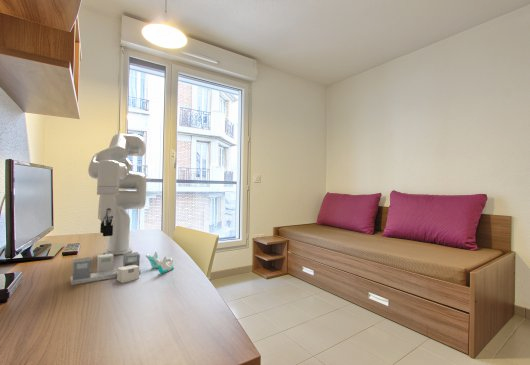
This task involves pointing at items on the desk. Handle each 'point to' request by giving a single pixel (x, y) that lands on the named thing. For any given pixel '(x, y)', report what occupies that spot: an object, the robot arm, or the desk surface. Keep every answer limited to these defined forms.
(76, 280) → the rail
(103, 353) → the desk surface
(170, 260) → the jawbone
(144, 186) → the robot arm
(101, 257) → the block
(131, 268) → the block
